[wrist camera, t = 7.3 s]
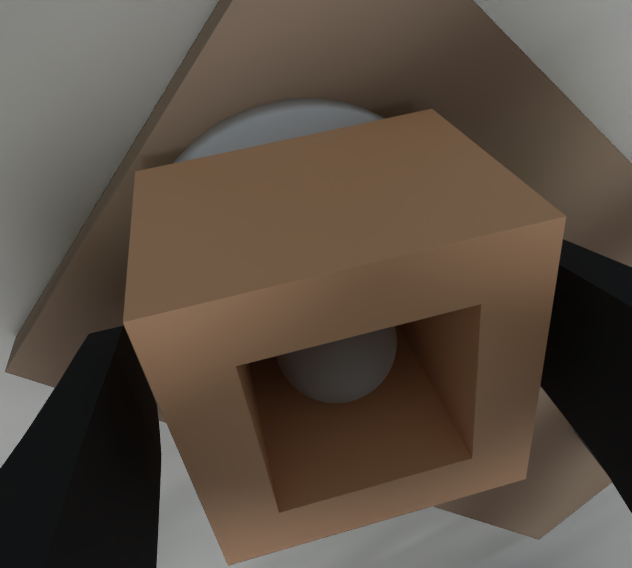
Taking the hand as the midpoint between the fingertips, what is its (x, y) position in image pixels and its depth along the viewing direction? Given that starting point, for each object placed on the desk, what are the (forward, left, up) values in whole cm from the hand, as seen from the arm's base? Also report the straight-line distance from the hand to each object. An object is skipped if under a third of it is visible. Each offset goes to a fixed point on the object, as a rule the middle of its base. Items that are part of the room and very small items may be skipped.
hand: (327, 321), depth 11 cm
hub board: (-6, 0, -4) cm, 8 cm away
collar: (0, 0, -2) cm, 2 cm away
